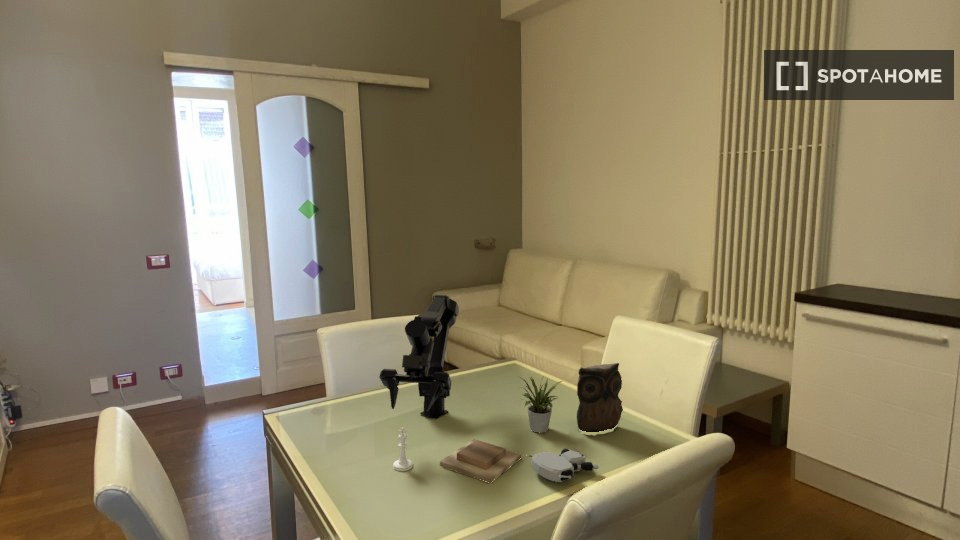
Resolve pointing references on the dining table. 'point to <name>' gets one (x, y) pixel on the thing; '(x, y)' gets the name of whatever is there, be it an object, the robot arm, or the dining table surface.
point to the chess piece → (402, 454)
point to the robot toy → (560, 464)
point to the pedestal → (481, 460)
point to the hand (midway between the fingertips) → (409, 409)
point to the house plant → (539, 406)
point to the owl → (599, 397)
